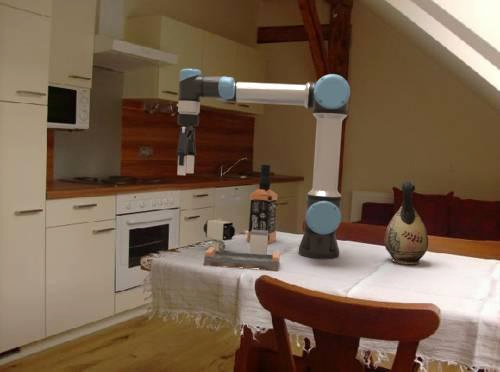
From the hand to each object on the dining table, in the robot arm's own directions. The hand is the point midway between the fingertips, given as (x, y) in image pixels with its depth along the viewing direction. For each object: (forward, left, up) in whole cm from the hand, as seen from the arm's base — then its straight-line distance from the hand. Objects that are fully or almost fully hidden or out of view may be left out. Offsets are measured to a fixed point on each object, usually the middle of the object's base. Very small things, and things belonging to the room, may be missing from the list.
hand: (185, 174), depth 185 cm
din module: (-27, -3, -28) cm, 39 cm away
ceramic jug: (-80, -10, -28) cm, 86 cm away
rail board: (-23, +12, -28) cm, 38 cm away
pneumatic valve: (-12, -7, -28) cm, 32 cm away
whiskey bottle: (-26, -32, -28) cm, 50 cm away
